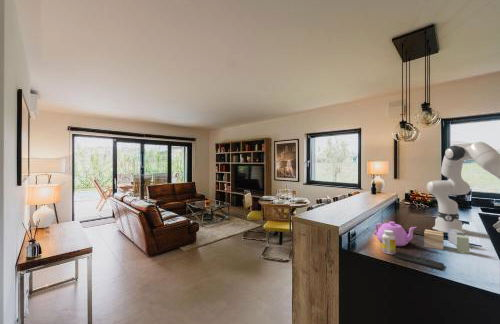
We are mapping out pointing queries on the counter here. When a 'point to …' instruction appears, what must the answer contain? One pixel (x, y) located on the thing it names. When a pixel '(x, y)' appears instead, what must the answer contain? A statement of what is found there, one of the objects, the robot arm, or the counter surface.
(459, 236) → the sage block
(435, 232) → the tower top block
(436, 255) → the counter surface
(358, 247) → the counter surface
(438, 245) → the tower base block
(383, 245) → the supplement bottle
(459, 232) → the medicine box
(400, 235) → the teapot
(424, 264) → the smart home device
